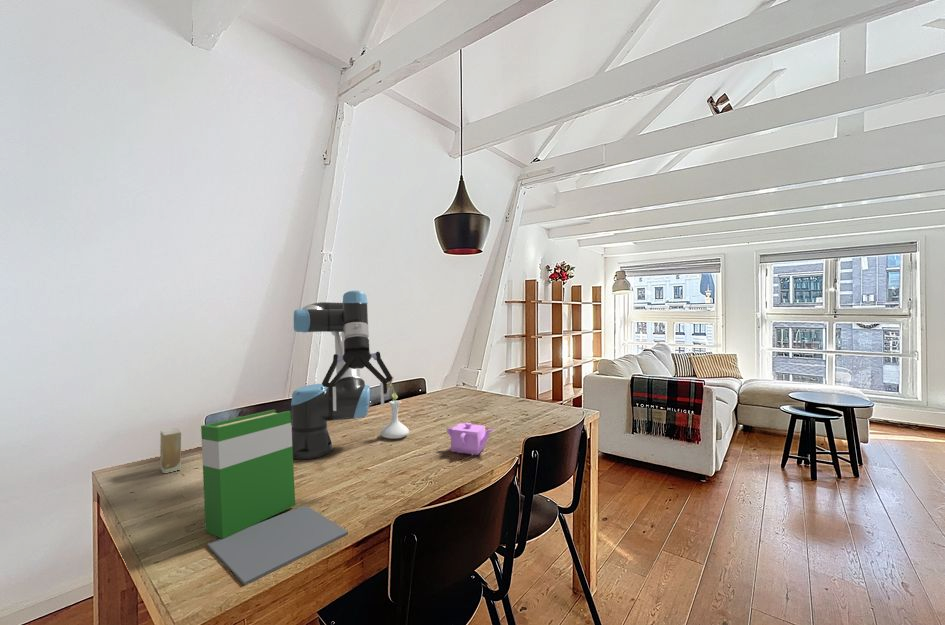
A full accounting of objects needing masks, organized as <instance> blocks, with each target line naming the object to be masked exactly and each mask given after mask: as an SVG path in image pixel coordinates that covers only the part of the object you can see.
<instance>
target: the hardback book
mask: <svg viewBox="0 0 945 625" xmlns="http://www.w3.org/2000/svg"><path fill="white" fill-rule="evenodd" d="M200 431H201V452H202V453H201V454H202V478H203V499H204V502H203V503H204V520H205V521H204V522H205V523H204V525H205V526H204V527H205V533H208V534H210V535H213V536H214V537H217V538H219V539H220V538H222V539H224V538H226V537H228V536H230V535H232V534H235V533H237V532H239V531H241V530H243V529H245V528H248V527H250V526H253V525H255V524H258V523H260V522H263V521H266V520H268V518H269V519H270V518H272V517H273V516H275V515H276V516H277V514H278V515H279V514H280V513H281V512H284V511H287V510H288V509H290V508H292V507H295V506H296V492H295V491H296V490H295V473H294V471H295V470H294V468H295V467H294V459H293V449H292V410H287V411H281V412H276V409H269V410H266V411H261V412H256V413H253V414H252V413H251V414H248V415H244V416H243V415H242V416H239V417H234V418H230V419H226V420H225V419H224V420H221V421H217V422H211V423H207V424H203V425H200Z"/></svg>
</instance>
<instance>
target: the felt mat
mask: <svg viewBox="0 0 945 625" xmlns="http://www.w3.org/2000/svg"><path fill="white" fill-rule="evenodd" d="M347 535H349V531H348V530H347V529H345V528H343V527H342V526H340V525H339V524H337V523H336V522H334V521H332V520H330V519H329V518H327V517H325V515H323V514H320V513H319V512H318V511H316V510H315V509H313V508H312V507H309V506H308V505H306V504H304V505H301V506H299V507H296V508H293V509H292V510H289V511H286V512H284V513H281V514H278V515H276V516H274V517H273V516H272V517H270V518H269V519H268V518H267V519H265V520H263V521H260V522H258V523H256V524H254V525H252V526H250V527H247V528H245V529H243V530H241V531H239V532H237V533H235V534H232V535H230V536H228V537H226V538H224V539H222V538H220V537H219V538H217V539H216V540H213V541H210V542H207V544H206V545H207V548H208V549H209V550H210V551H211V552H213V554H214V555H215V556H216V557H217V558H218V559H219V560H220V561H221V562H222V563H223V564H224V566H226V568H227V569H228V568H229V569H230V570H231V571H232V572H233V573H234V574H235V575H234V574H233V573H232V572H231V571H230V570H229V569H228V570H229V571H230V572H231V573H232V574H233V575H234V576H235V578H237V579H238V580H239V582H240V583H242V585H244V586H247V585H249V584H251V583H253V582H255V581H257V580H258V578H259V579H261V578H263V577H265V576H266V575H268V574H271V573H273V572H275V571H277V570H279V569H281V568H282V567H285V566H287V565H289V564H291V563H293V562H295V561H297V560H299V559H301V558H303V557H305V556H307V555H309V554H311V553H313V552H315V551H317V550H319V549H321V548H323V547H325V546H327V545H330V543H333V542H335V541H337V540H339V539H342V538H344V537H345V536H347ZM250 582H251V583H250ZM248 583H249V584H248ZM246 584H247V585H246Z"/></svg>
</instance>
